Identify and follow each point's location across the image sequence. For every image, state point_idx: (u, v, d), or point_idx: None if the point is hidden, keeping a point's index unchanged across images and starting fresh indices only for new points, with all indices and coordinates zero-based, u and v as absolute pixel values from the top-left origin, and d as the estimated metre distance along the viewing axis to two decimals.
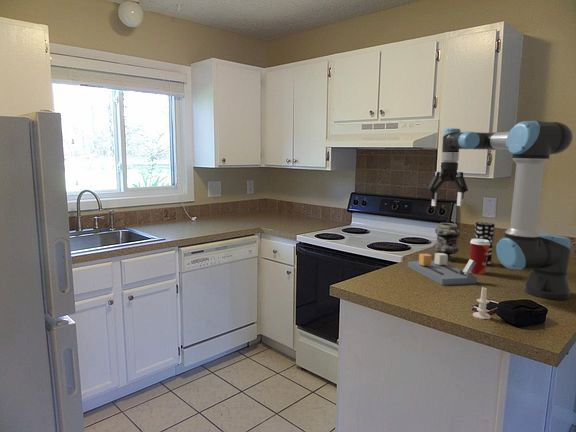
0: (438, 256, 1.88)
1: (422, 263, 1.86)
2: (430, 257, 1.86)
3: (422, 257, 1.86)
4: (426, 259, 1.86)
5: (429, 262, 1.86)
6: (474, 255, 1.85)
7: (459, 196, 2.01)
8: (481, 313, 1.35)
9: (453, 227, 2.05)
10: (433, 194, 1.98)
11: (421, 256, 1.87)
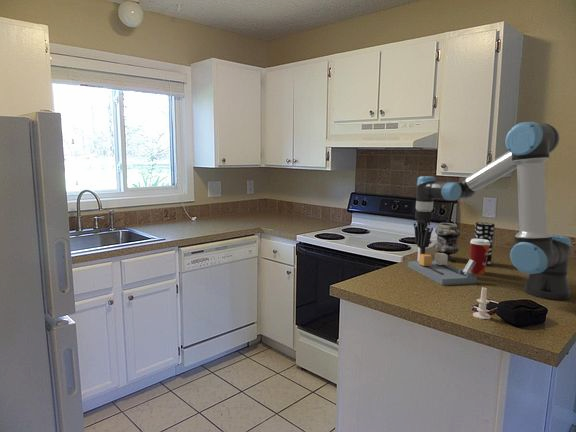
0: (438, 256, 1.88)
1: (422, 263, 1.86)
2: (430, 257, 1.86)
3: (422, 257, 1.86)
4: (426, 259, 1.85)
5: (429, 262, 1.86)
6: (474, 255, 1.85)
7: None
8: (481, 313, 1.35)
9: (453, 227, 2.05)
10: None
11: (421, 256, 1.87)
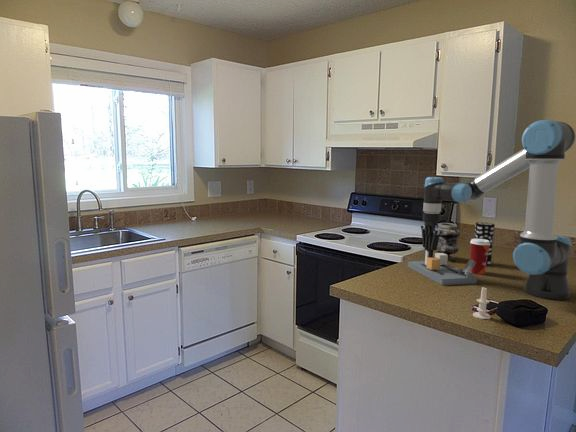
0: (438, 256, 1.88)
1: (430, 267, 1.80)
2: (438, 261, 1.80)
3: (430, 261, 1.80)
4: (434, 263, 1.79)
5: (437, 266, 1.80)
6: (474, 255, 1.85)
7: None
8: (481, 313, 1.35)
9: (453, 227, 2.05)
10: (426, 251, 1.86)
11: (429, 260, 1.81)
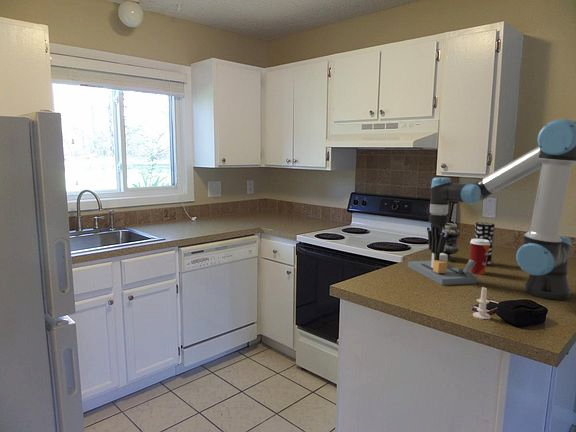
0: None
1: (437, 270, 1.75)
2: (445, 264, 1.75)
3: (437, 264, 1.75)
4: (441, 266, 1.74)
5: (444, 269, 1.75)
6: (474, 255, 1.85)
7: None
8: (481, 313, 1.35)
9: (453, 227, 2.05)
10: None
11: (436, 263, 1.76)
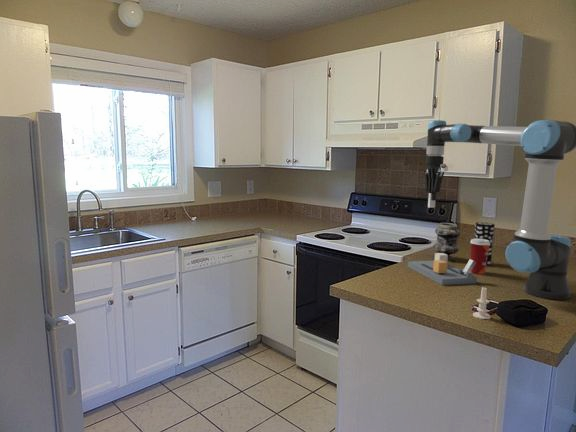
0: (438, 256, 1.88)
1: (437, 270, 1.75)
2: (445, 264, 1.75)
3: (437, 264, 1.75)
4: (441, 266, 1.74)
5: (444, 269, 1.75)
6: (474, 255, 1.85)
7: None
8: (481, 313, 1.35)
9: (453, 227, 2.05)
10: (429, 194, 1.92)
11: (436, 263, 1.76)
